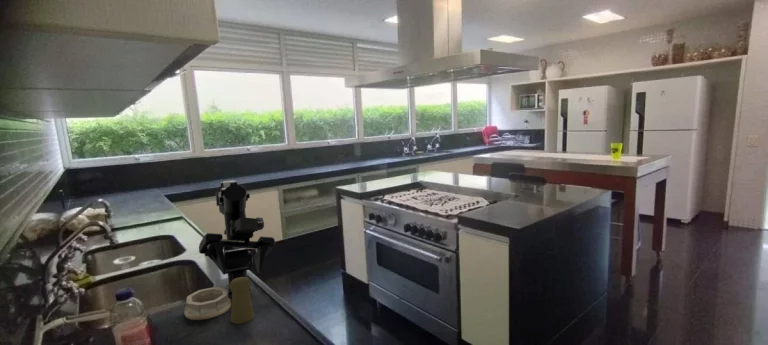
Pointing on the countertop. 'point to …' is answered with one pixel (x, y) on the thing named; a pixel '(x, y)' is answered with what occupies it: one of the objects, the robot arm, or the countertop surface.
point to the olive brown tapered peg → (241, 301)
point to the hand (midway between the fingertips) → (242, 272)
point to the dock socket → (207, 303)
